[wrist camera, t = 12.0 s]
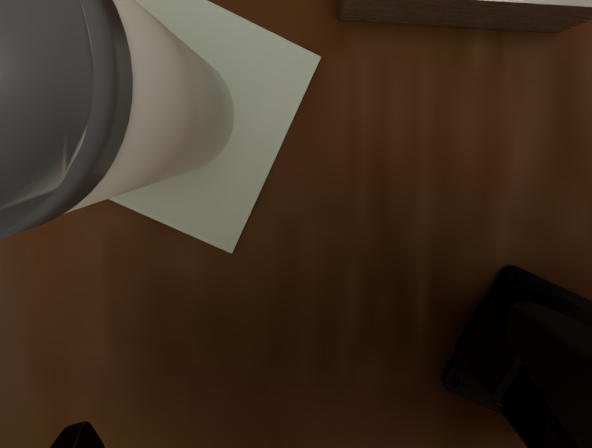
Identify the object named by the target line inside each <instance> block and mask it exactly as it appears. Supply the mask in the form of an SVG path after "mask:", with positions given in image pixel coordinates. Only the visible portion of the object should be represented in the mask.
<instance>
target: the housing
mask: <svg viewBox="0 0 592 448" xmlns="http://www.w3.org/2000/svg"><path fill="white" fill-rule="evenodd" d="M338 20H348V21H365V22H381V23H398V24H415V25H432V26H449V27H466V28H483V29H500V30H517V31H534V32H551V33H560V32H562V31H565V30H567V29H570V28H572V27H575V26H578V25H580V24H583V23H585V22H588V21H591V20H592V0H340V3H339V18H338Z"/></svg>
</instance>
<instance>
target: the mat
mask: <svg viewBox="0 0 592 448" xmlns="http://www.w3.org/2000/svg"><path fill="white" fill-rule="evenodd" d="M135 1H136V2H137V3H139V4H140V5H141V6H142V7H143V8H144V9H146V10H147V11H148V12H149V13H150V14H151V15H153V16H154V17H155V18H156V19H157V20H158V21H160V22H161V23H162V24H163V25H164V26H165V27H167V28H168V29H169V30H170V31H171V32H172V33H174V34H175V35H176V36H177V37H178V38H179V39H181V40H182V41H183V42H184V43H185V44H186V45H188V46H189V47H190V48H191V49H192V50H193V51H195V52H196V53H197V54H198V55H199V56H201V57H202V58H203V59H204V60H205V61H206V62H208V63H209V64H210V65H211V66H212V67H213V68H214V69H215V70H216V71H217V72H218V73H219V74H220V75H221V77H222V78H223V80H224V81H225V83H226V84H227V87H228V89H229V91H230V94H231V97H232V100H233V106H234V124H233V129H232V133H231V135H230V138H229V140H228V142H227V144H226V146H225V147H224V149H223V150H222V151H221V153H220V154H219V155H218V156H217V157H216V158H215V159H213V160H212V161H211V162H209V163H208V164H206V165H205V166H202V167H200V168H198V169H195V170H192V171H189V172H186V173H183V174H180V175H177V176H174V177H171V178H168V179H165V180H162V181H159V182H156V183H153V184H150V185H147V186H144V187H141V188H139V189H136V190H133V191H130V192H127V193H124V194H121V195H118V196H115V197H112V198H109V200H112V201H114V202H116V203H118V204H121V205H123V206H125V207H127V208H130V209H132V210H134V211H136V212H139V213H141V214H143V215H145V216H148V217H150V218H152V219H154V220H157V221H159V222H161V223H163V224H166V225H168V226H170V227H173V228H175V229H177V230H179V231H182V232H184V233H186V234H188V235H191V236H193V237H195V238H197V239H200V240H202V241H204V242H206V243H209V244H211V245H213V246H215V247H218V248H220V249H222V250H224V251H227V252H229V253H231V254H232V253H233V251H234V248H235V246H236V244H237V242H238V240H239V237H240V235H241V233H242V231H243V228H244V226H245V224H246V222H247V220H248V217H249V215H250V213H251V211H252V209H253V206H254V204H255V202H256V200H257V198H258V195H259V193H260V191H261V189H262V187H263V184H264V182H265V180H266V178H267V176H268V173H269V171H270V169H271V167H272V164H273V162H274V160H275V158H276V156H277V153H278V151H279V149H280V147H281V145H282V142H283V140H284V138H285V136H286V134H287V131H288V129H289V127H290V125H291V123H292V120H293V118H294V116H295V114H296V112H297V109H298V107H299V105H300V103H301V101H302V98H303V96H304V94H305V92H306V89H307V87H308V85H309V83H310V81H311V78H312V76H313V74H314V72H315V70H316V67H317V65H318V63H319V61H320V59H321V57H320V56H318V55H316V54H314V53H312V52H310V51H308V50H306V49H304V48H302V47H300V46H298V45H296V44H294V43H292V42H290V41H288V40H286V39H284V38H282V37H280V36H278V35H276V34H274V33H272V32H270V31H268V30H266V29H264V28H262V27H260V26H258V25H256V24H254V23H252V22H250V21H248V20H246V19H244V18H242V17H240V16H238V15H236V14H234V13H232V12H230V11H228V10H226V9H224V8H222V7H220V6H218V5H216V4H214V3H212V2H210V1H208V0H135Z"/></svg>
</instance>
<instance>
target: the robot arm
mask: <svg viewBox="0 0 592 448" xmlns="http://www.w3.org/2000/svg"><path fill="white" fill-rule="evenodd" d="M515 273H516V274H517V277H516V279H515V280H514V281H510V276H511V275H512V274H515ZM454 377H456V378H457V380H456V381H455V382H453V383H450V382H449V381H450V380H451V379H452V378H454ZM441 381H442V383H443V384H444V386H445V388H446V389H447V390H448V391H450V392H452V393H455V394H457V395H459V396H461V397H464V398H466V399H468V400H471V401H473V402H475V403H478V404H480V405H482V406H485V407H487V408H489V409H492V410H494V411H496V412H498V413H501V414H503V416H504V417H505V418H506V420H507V421H508V422H509V424H510V425H511V426H512V428H513V429H514V430H515V432H516V433H517V434H518V436H519V437H520V438H521V439H522V441H523V442H524V443H525V445H526V446H527V447H528V448H592V301H589V300H587V299H585V298H583V297H581V296H579V295H577V294H575V293H572V292H570V291H568V290H566V289H564V288H562V287H560V286H557V285H555V284H553V283H551V282H549V281H547V280H545V279H543V278H540V277H538V276H536V275H534V274H532V273H530V272H528V271H526V270H523V269H521V268H519V267H517V266H513V265H512V266H507V267H506V268H504V269H503V270H502V271H501V273H500V275H499V277H498V278H497V280H496V282H495V283H494V285H493V287H492V289H491V290H490V292H489V294H488V296H487V297H486V299H485V301H484V302H482V303H480V304H479V306H478V308H477V309H476V311H475V313H474V315H473V316H472V318H471V320H470V321H469V323H468V325H467V327H466V328H465V330H464V332H463V334H462V335H461V337H460V339H459V341H458V342H457V344H456V346H455V353H454V354H453V356H452V358H451V360H450V361H449V363H448V365H447V366H446V368H445V370H444V372H443V373H442V376H441ZM50 448H105V447H104V444H103V442H102V441H101V439H100V438H99V436H98V434H97V433H96V431H95V430H94V428H93V426H92V425H91V424H90V423H89V422H87V421H84V422H80V423H77V424H73V425H70V426H67V427H66V428H65V429H63V431H62V432H61V433H60V434H59V436H58V437H57V439H56V440H55V441H54V443H53V444H52V446H51V447H50Z"/></svg>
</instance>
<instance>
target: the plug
mask: <svg viewBox="0 0 592 448" xmlns="http://www.w3.org/2000/svg"><path fill="white" fill-rule="evenodd" d="M233 124H234V106H233V100H232V97H231V94H230V91H229V89H228V87H227V84H226V83H225V81H224V80H223V78H222V77H221V75H220V74H219V73H218V72H217V71H216V70H215V69H214V68H213V67H212V66H211V65H210V64H209V63H208V62H206V61H205V60H204V59H203V58H202V57H201V56H199V55H198V54H197V53H196V52H195V51H193V50H192V49H191V48H190V47H189V46H188V45H186V44H185V43H184V42H183V41H182V40H181V39H179V38H178V37H177V36H176V35H175V34H174V33H172V32H171V31H170V30H169V29H168V28H167V27H165V26H164V25H163V24H162V23H161V22H160V21H158V20H157V19H156V18H155V17H154V16H153V15H151V14H150V13H149V12H148V11H147V10H146V9H144V8H143V7H142V6H141V5H140V4H139V3H137V2H136V1H135V0H0V239H2V238H5V237H7V236H10V235H13V234H16V233H19V232H22V231H25V230H27V229H30V228H33V227H36V226H39V225H42V224H44V223H46V222H48V221H50V220H53V219H55V218H57V217H59V216H61V215H62V214H64V213H67V212H70V211H73V210H76V209H79V208H82V207H85V206H88V205H91V204H94V203H97V202H100V201H103V200H106V199H109V198H112V197H115V196H118V195H121V194H124V193H127V192H130V191H133V190H136V189H139V188H141V187H144V186H147V185H150V184H153V183H156V182H159V181H162V180H165V179H168V178H171V177H174V176H177V175H180V174H183V173H186V172H189V171H192V170H195V169H198V168H200V167H202V166H205V165H206V164H208V163H209V162H211V161H212V160H213V159H215V158H216V157H217V156H218V155H219V154H220V153H221V151H222V150H223V149H224V147H225V146H226V144H227V142H228V140H229V138H230V135H231V133H232V129H233Z"/></svg>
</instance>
